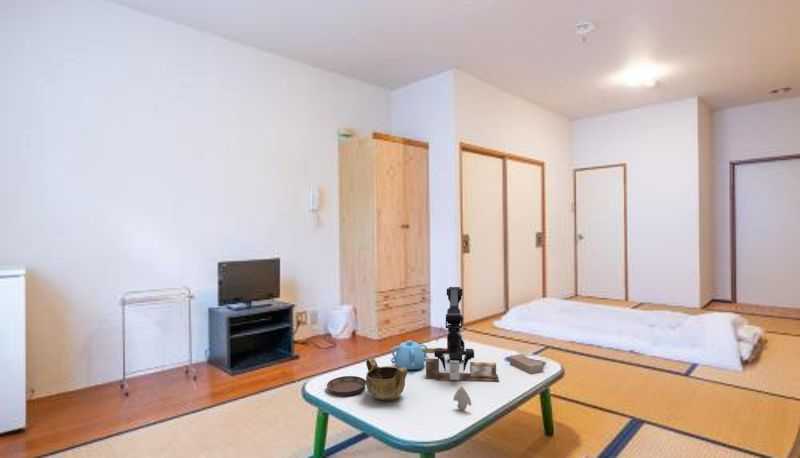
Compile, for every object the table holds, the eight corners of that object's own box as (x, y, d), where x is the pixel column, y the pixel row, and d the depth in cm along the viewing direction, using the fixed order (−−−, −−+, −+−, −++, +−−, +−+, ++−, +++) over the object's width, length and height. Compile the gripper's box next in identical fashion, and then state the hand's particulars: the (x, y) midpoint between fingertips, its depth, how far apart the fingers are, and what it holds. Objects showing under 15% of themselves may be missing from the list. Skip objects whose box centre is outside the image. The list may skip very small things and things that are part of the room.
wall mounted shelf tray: (470, 377, 201) (470, 364, 201) (470, 374, 205) (470, 362, 205) (496, 378, 200) (496, 365, 200) (495, 375, 203) (495, 362, 203)
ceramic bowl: (418, 399, 180) (418, 363, 180) (390, 412, 168) (389, 374, 168) (382, 385, 196) (381, 353, 195) (353, 396, 184) (353, 362, 183)
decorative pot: (432, 366, 220) (432, 340, 220) (411, 375, 208) (411, 347, 208) (408, 359, 231) (408, 334, 231) (387, 367, 219) (387, 341, 219)
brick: (544, 372, 210) (544, 363, 210) (530, 375, 206) (530, 365, 206) (521, 362, 225) (521, 353, 225) (508, 365, 222) (508, 356, 221)
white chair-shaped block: (449, 379, 200) (449, 366, 199) (449, 372, 208) (449, 360, 208) (459, 379, 199) (459, 367, 199) (459, 372, 208) (458, 360, 208)
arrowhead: (452, 409, 170) (451, 384, 170) (455, 406, 172) (454, 382, 172) (470, 414, 166) (469, 388, 165) (473, 411, 168) (472, 386, 167)
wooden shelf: (425, 379, 202) (425, 362, 202) (426, 373, 210) (426, 357, 210) (499, 382, 198) (498, 364, 198) (497, 375, 206) (497, 359, 205)
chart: (410, 353, 243) (410, 327, 242) (411, 351, 246) (410, 325, 246) (464, 353, 241) (464, 327, 241) (463, 351, 244) (463, 325, 244)
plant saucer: (343, 401, 180) (343, 394, 179) (319, 390, 192) (318, 383, 192) (374, 389, 192) (374, 382, 192) (349, 379, 205) (349, 373, 204)
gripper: (433, 342, 197) (434, 376, 197) (474, 343, 195) (475, 377, 195) (434, 336, 208) (435, 367, 208) (473, 336, 206) (473, 368, 206)
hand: (454, 370), depth 204 cm, fingers open, 9 cm apart
